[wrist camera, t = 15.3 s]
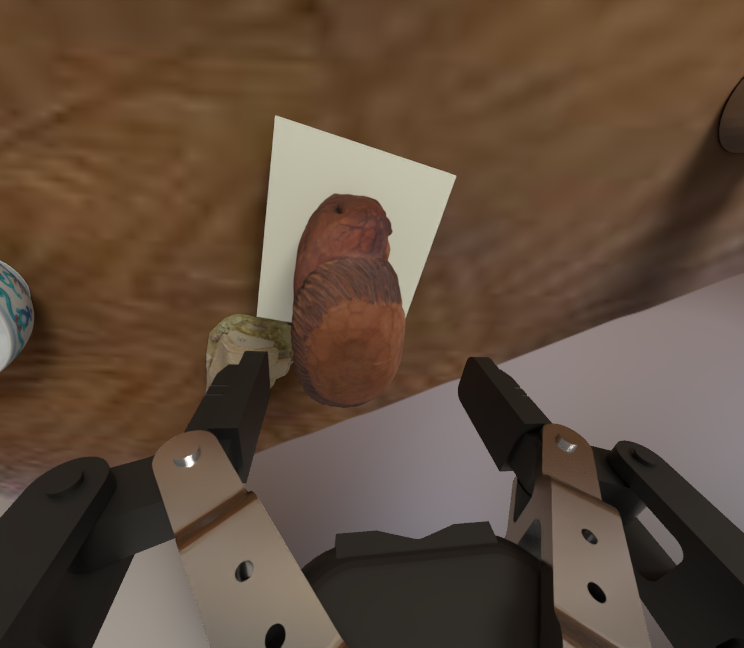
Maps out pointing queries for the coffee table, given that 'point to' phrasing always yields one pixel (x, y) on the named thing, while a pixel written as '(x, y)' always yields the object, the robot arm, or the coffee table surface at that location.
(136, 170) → the coffee table surface
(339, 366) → the wooden figurine
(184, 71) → the coffee table surface
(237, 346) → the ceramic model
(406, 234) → the cream white square block
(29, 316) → the chinaware
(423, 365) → the coffee table surface
